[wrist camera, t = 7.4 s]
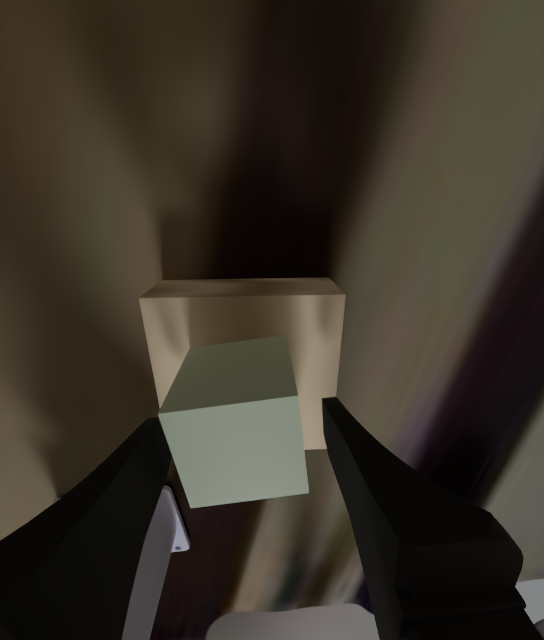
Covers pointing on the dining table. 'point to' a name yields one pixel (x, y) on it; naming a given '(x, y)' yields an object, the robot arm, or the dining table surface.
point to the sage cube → (236, 423)
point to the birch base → (251, 330)
